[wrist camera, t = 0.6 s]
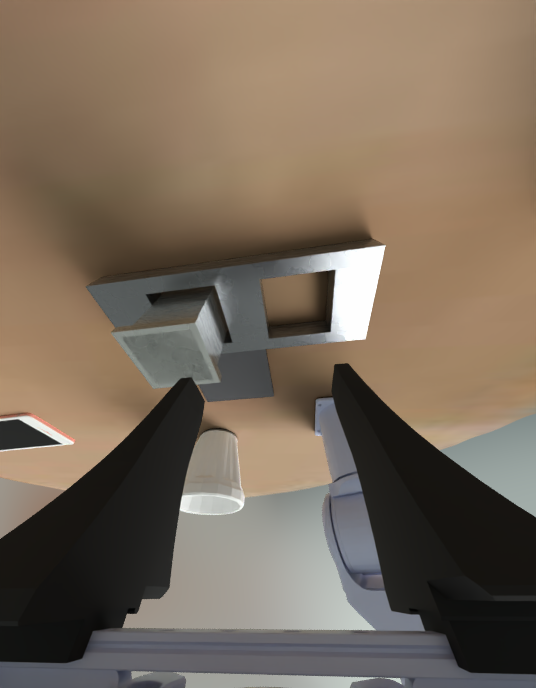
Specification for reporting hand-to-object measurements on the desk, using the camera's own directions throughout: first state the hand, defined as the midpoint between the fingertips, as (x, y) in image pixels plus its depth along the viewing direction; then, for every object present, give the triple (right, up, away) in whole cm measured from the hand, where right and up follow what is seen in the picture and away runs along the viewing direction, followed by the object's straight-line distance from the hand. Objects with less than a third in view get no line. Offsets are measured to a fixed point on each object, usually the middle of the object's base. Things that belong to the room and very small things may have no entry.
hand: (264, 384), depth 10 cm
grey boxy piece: (-6, +5, +8) cm, 12 cm away
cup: (-8, -14, +24) cm, 29 cm away
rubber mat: (-4, -1, +14) cm, 14 cm away
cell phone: (-43, -12, +23) cm, 50 cm away
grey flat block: (-2, +6, +8) cm, 10 cm away
